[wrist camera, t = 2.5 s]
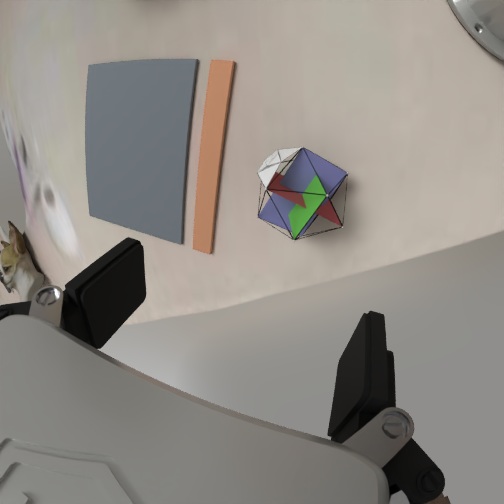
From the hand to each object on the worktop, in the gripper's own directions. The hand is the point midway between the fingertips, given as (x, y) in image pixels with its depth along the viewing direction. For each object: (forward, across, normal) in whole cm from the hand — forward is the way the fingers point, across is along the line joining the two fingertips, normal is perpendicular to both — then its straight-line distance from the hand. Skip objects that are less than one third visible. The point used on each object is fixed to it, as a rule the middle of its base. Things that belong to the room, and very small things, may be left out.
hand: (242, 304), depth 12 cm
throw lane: (+16, +16, -1) cm, 23 cm away
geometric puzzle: (+16, 0, -1) cm, 16 cm away
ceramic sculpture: (+17, +47, +23) cm, 55 cm away
